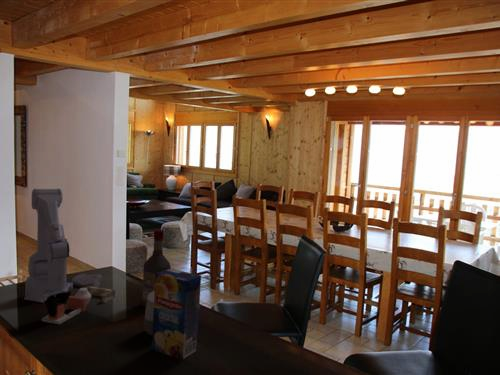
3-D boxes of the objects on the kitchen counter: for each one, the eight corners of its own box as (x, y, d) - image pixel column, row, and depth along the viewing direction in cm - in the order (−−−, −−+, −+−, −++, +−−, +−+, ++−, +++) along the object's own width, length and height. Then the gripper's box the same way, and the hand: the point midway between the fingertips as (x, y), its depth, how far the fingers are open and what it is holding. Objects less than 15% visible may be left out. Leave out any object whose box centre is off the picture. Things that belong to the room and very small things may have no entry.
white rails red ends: (40, 320, 147) (40, 305, 147) (66, 307, 161) (67, 293, 160) (60, 324, 145) (60, 309, 145) (85, 310, 159) (85, 296, 158)
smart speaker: (138, 335, 142) (139, 294, 140) (154, 325, 150) (155, 286, 149) (162, 341, 138) (164, 299, 137) (177, 330, 147) (179, 291, 145)
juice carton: (197, 350, 134) (201, 275, 131) (182, 360, 127) (186, 281, 125) (167, 340, 139) (170, 268, 137) (151, 348, 133) (155, 273, 130)
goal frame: (77, 298, 170) (77, 291, 170) (88, 292, 177) (88, 285, 177) (105, 303, 167) (105, 295, 167) (114, 297, 174) (115, 290, 174)
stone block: (95, 293, 183) (105, 281, 192) (94, 283, 181) (104, 272, 191) (68, 291, 184) (79, 280, 193) (67, 281, 182) (78, 270, 192)
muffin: (80, 309, 159) (81, 291, 159) (70, 305, 162) (70, 287, 162) (94, 305, 165) (95, 287, 164) (84, 301, 168) (84, 284, 167)
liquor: (156, 311, 162) (159, 234, 159) (138, 306, 167) (141, 230, 164) (171, 305, 170) (175, 230, 167) (154, 299, 174) (158, 227, 172)
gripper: (52, 283, 140) (51, 323, 141) (80, 272, 154) (79, 308, 155) (34, 280, 142) (33, 320, 143) (63, 269, 156) (62, 305, 157)
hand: (56, 314), depth 149 cm, fingers closed on white rails red ends, 4 cm apart
